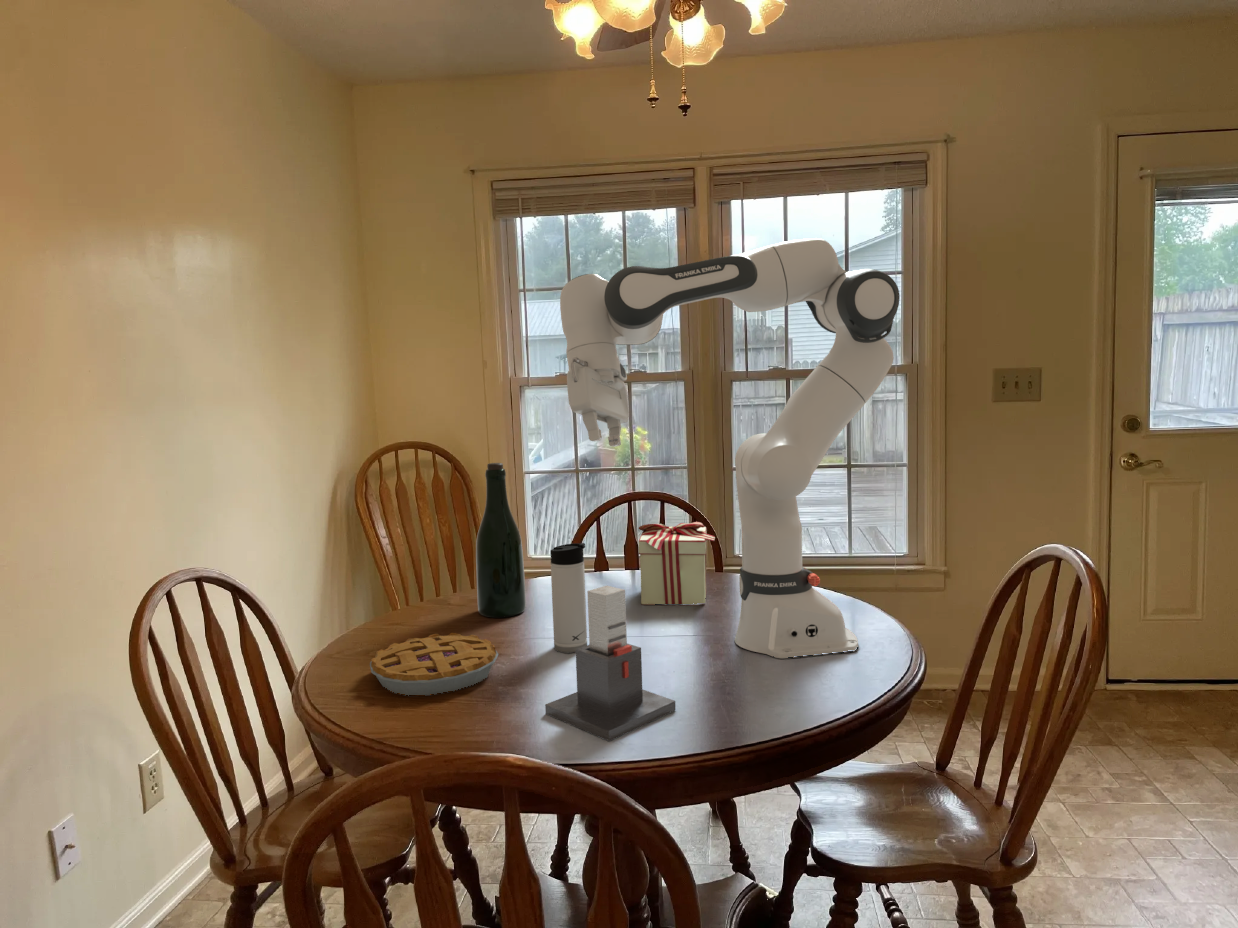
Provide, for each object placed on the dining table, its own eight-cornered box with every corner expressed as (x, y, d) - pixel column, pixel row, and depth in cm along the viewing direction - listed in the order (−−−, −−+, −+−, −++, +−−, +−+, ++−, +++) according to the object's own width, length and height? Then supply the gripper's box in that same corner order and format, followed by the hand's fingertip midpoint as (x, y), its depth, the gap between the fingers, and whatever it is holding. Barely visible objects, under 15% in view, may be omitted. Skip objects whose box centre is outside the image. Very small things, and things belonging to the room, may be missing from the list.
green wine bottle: (525, 603, 185) (518, 459, 181) (527, 616, 174) (520, 464, 171) (478, 607, 183) (470, 461, 179) (478, 620, 173) (469, 466, 169)
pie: (357, 670, 146) (355, 643, 145) (473, 646, 157) (471, 621, 156) (389, 711, 127) (387, 680, 127) (518, 681, 138) (517, 652, 138)
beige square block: (610, 694, 127) (606, 585, 125) (630, 701, 123) (626, 589, 122) (590, 702, 124) (586, 590, 122) (610, 710, 121) (606, 595, 119)
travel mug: (584, 653, 150) (580, 547, 148) (550, 652, 151) (545, 547, 149) (592, 642, 156) (588, 540, 154) (559, 641, 157) (555, 540, 155)
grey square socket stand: (611, 687, 134) (609, 623, 132) (675, 710, 124) (673, 641, 122) (545, 713, 124) (542, 645, 123) (609, 741, 114) (606, 666, 113)
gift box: (640, 610, 176) (637, 532, 174) (640, 588, 195) (638, 517, 193) (718, 609, 176) (717, 530, 174) (712, 586, 194) (710, 515, 192)
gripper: (587, 350, 132) (600, 433, 130) (629, 372, 151) (641, 445, 149) (552, 359, 134) (565, 441, 132) (598, 380, 153) (609, 452, 151)
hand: (605, 443), depth 141 cm, fingers open, 8 cm apart
